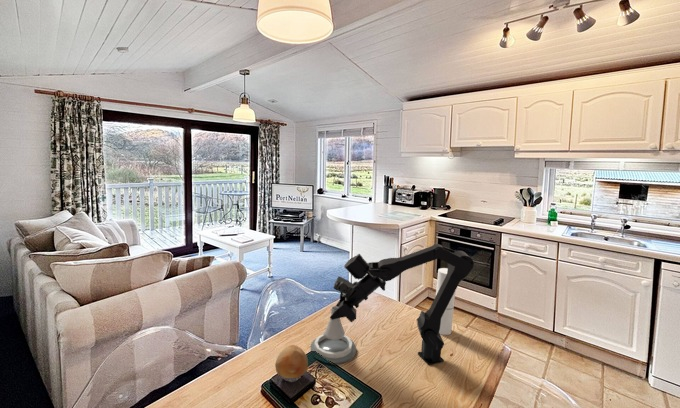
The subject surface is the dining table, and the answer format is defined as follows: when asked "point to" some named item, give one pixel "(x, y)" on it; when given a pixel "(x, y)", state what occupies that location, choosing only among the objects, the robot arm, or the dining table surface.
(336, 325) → the flask
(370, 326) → the dining table surface
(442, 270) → the cylindrical container
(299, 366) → the onion
